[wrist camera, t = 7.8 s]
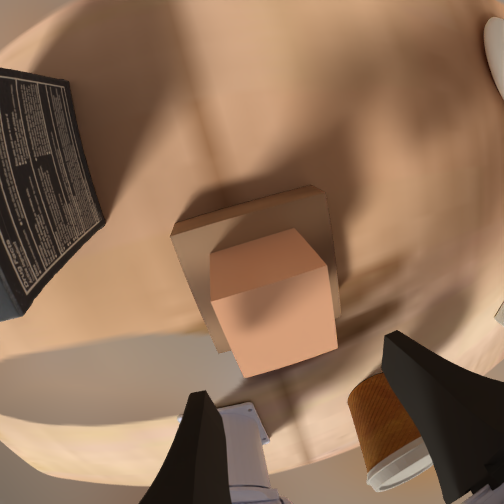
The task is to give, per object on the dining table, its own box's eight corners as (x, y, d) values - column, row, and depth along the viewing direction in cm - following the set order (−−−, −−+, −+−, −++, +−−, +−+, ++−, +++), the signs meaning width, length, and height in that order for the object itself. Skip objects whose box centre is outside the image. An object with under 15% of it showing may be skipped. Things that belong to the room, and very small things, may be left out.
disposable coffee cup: (414, 351, 26) (471, 426, 16) (395, 400, 30) (435, 466, 19) (338, 377, 26) (385, 474, 15) (330, 423, 30) (361, 501, 19)
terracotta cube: (309, 298, 18) (337, 348, 14) (235, 321, 18) (244, 378, 13) (294, 227, 16) (327, 265, 12) (209, 253, 16) (210, 301, 11)
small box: (3, 120, 12) (-103, 135, 3) (70, 77, 13) (-40, 49, 3) (40, 250, 17) (-43, 334, 7) (109, 225, 17) (27, 319, 7)
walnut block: (326, 295, 22) (341, 316, 19) (216, 327, 22) (218, 353, 19) (308, 183, 18) (325, 192, 16) (175, 220, 18) (169, 236, 15)
